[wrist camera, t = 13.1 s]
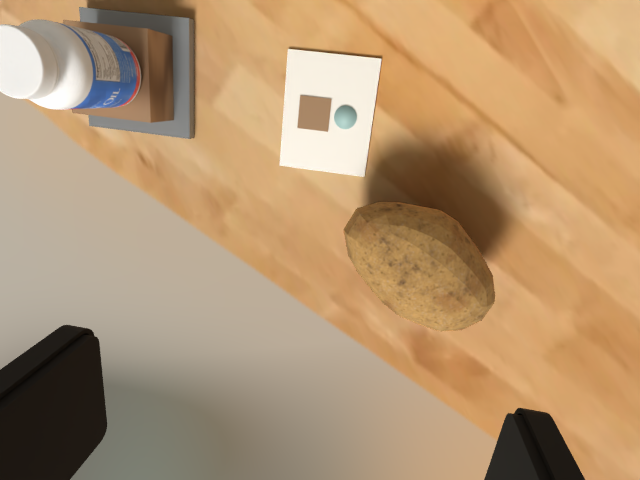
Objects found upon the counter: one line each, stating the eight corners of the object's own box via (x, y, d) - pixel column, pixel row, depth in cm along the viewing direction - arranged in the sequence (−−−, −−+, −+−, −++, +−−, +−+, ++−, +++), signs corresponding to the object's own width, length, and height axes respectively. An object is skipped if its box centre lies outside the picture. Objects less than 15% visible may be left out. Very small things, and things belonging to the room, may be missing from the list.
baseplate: (87, 9, 36) (79, 6, 35) (194, 20, 35) (188, 18, 34) (96, 125, 40) (89, 125, 39) (194, 137, 39) (189, 138, 38)
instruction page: (288, 49, 35) (287, 48, 34) (381, 58, 34) (381, 58, 34) (280, 165, 38) (279, 165, 38) (364, 176, 37) (364, 177, 37)
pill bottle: (96, 114, 34) (-9, 120, 25) (70, 45, 32) (-52, 24, 23) (154, 99, 33) (66, 99, 24) (130, 26, 31) (27, -3, 22)
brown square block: (96, 28, 36) (63, 19, 32) (172, 35, 35) (147, 28, 31) (102, 111, 38) (72, 112, 34) (173, 120, 37) (150, 122, 34)
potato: (389, 159, 37) (390, 175, 29) (505, 253, 38) (535, 291, 31) (324, 237, 40) (311, 270, 33) (432, 321, 41) (444, 370, 34)
